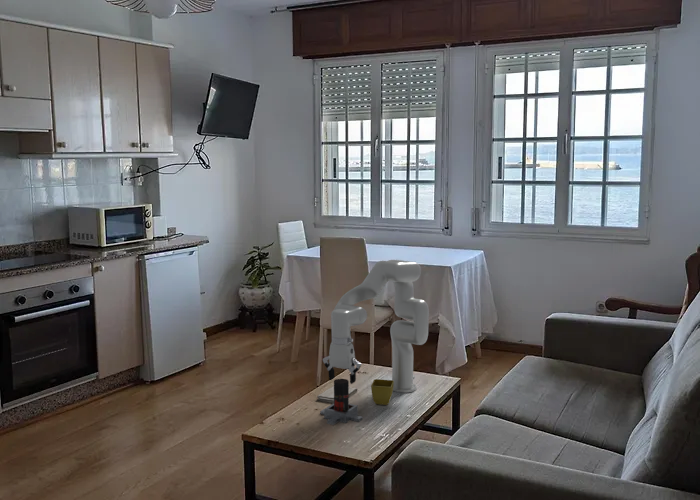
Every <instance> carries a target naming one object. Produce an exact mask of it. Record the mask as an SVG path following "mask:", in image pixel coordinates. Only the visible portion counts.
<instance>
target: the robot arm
mask: <svg viewBox="0 0 700 500" xmlns="http://www.w3.org/2000/svg"><path fill="white" fill-rule="evenodd" d="M421 273H422V267H421V265H420V264H419V263H418V262H414V261H410V260H409V261H408V260H401V259H390V260H389V259H388V260H380V261H377V262H376V263H375V264H374V265H373V267H372V268H371V269H370V271H369V273H368V274H367V276H366V277H365V278H364V280H363V281H362V282H361V283H360V284H359V285H357V286H355V287H352V288H351V289H349V290H348V291H347V292H346V293H344V294H343V295H342V296H341V297H340V299H339V300H338V301H337V303H336V305H335V306H334V308H333V310H332V311H331V314H330V315H331V316H330V317H331V320H330V321H331V322H330V323H331V342H330V346H329V351H328V352H329V354H328V356H325V357H324V358H322V362H323V364H324V366H325V368H326V370H327V371H328V380H329V381H332V380H333V379H334V380H335V368H338V369H342V370H343V369H344V370H347V371H349V373H350V374H349V383H350V384H351V385H353V384H354V383H355V382H356V380H357V378H356V377H357V372H358V371H359V370H360V368H361V367H362V363H361V362H360V361H359V360H357V359H356V353H355V348H354V344H353V342H354V338H352V336H351V327H353V326H360V325H362V324H364V323H365V322H366V321H367V318H368V311H367V310H366V309H365V308H364V307H361V306H359V305H356V304H358V303H361V302H363V301H367V300H371V299H374V298H377V297H378V296H379V295H380V293H381V292H382V290H383V289H384V287H385V286H386V284H387V283H388V282H391V283H393V286H394V303H393V304H394V305H393V306H394V307H393V308H394V314H395V316H397V317H398V318H403V319H407V320H402V319H401V320H398V319H397V320H395V321H394V322H393V323H392V324H391V325H390V329H389V332H390V333H389V334H390V339H391V347H392V352H391V353H392V354H391V355H392V356H391V357H392V358H391V361H392V363H391V368H392V369H391V372H392V373H391V380H394V385H393V392H395V393H398V394H399V393H401V394H402V393H403V394H406V393H408V394H409V393H412V392H415V391H416V390H417V385H416V384H415V383H414V380H415V378H416V376H415V375H414V349H413V345H417V346H423V345H424V344H425V343H426V342H427V341H428V336H429V325H430V324H429V319H430V309H429V308H430V307H429V305H428V303H427V301H425V300H424V299H420V298H415V296H414V292H415V291H414V290H415V289H414V283H413V282H416V281H418V280H419V278H420V277H421ZM408 320H409V321H408ZM411 320H412V321H411Z"/></svg>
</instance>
